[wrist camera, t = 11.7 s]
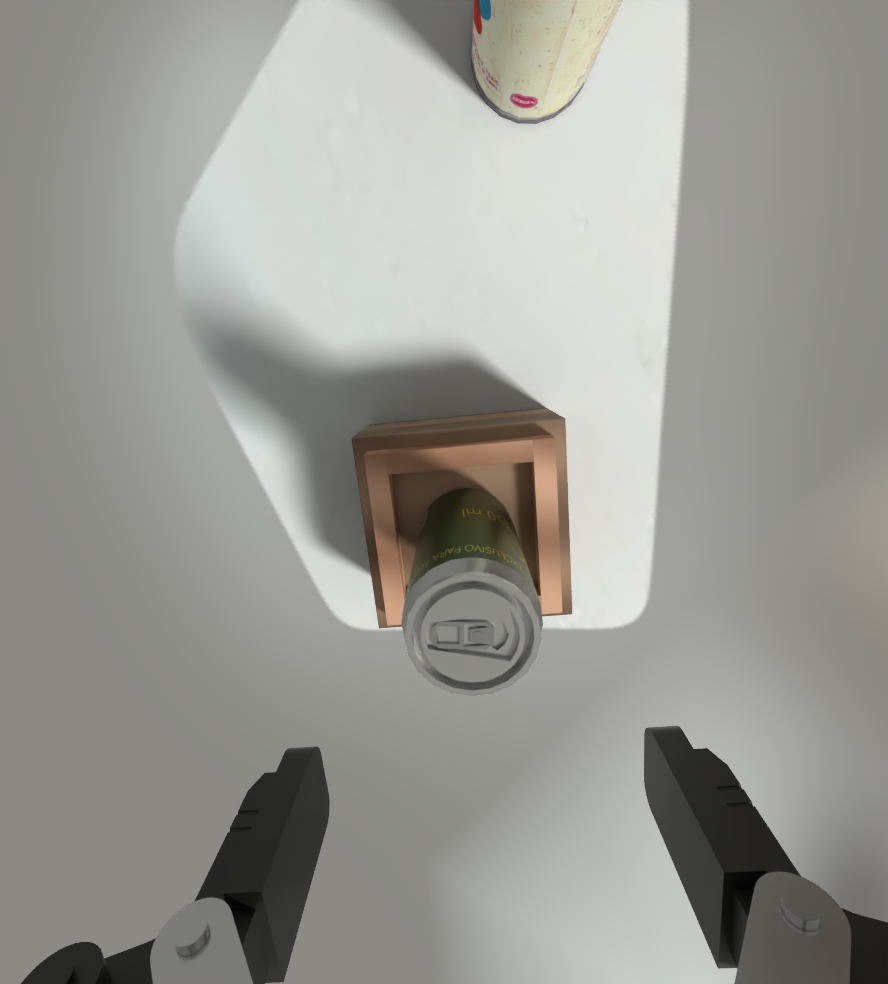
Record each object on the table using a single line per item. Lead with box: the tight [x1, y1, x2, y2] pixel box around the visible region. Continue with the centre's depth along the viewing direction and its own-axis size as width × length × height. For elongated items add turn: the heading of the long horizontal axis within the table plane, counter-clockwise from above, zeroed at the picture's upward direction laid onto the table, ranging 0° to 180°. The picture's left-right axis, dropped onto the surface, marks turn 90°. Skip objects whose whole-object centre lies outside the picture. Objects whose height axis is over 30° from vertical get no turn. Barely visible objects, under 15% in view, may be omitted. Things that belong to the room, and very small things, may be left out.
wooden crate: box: [352, 408, 572, 628], centre depth 32 cm, size 12×12×7 cm
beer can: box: [401, 488, 543, 696], centre depth 24 cm, size 5×5×12 cm
